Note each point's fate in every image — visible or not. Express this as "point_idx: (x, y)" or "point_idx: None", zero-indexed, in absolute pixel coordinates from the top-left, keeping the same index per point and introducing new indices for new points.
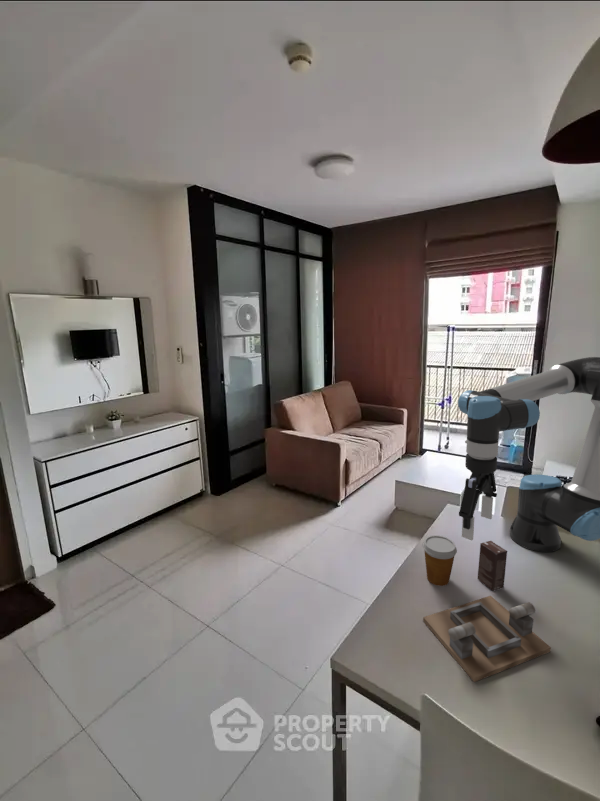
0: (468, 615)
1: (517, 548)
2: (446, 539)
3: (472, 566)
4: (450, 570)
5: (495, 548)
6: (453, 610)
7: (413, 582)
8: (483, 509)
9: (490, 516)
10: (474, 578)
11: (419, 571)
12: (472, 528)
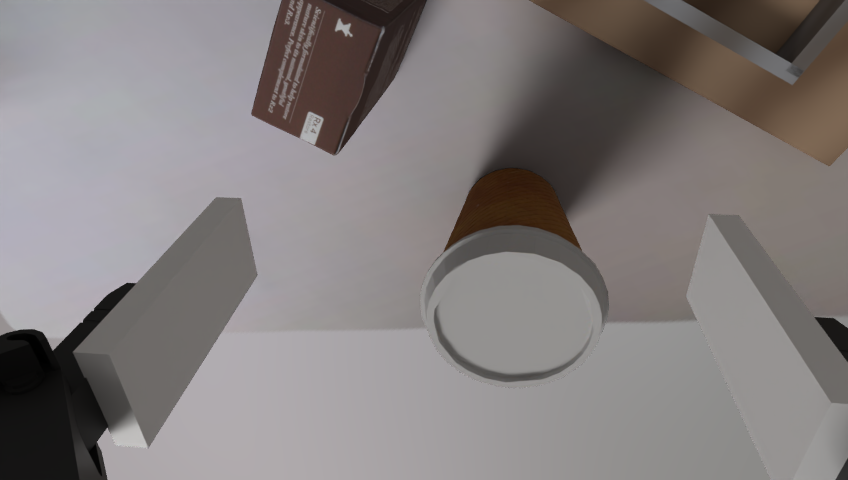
0: (711, 13)
1: (4, 9)
2: (436, 310)
3: None
4: (520, 194)
5: (323, 59)
6: (712, 82)
7: None
8: (222, 307)
9: (228, 216)
10: (395, 92)
11: None
12: (794, 298)
